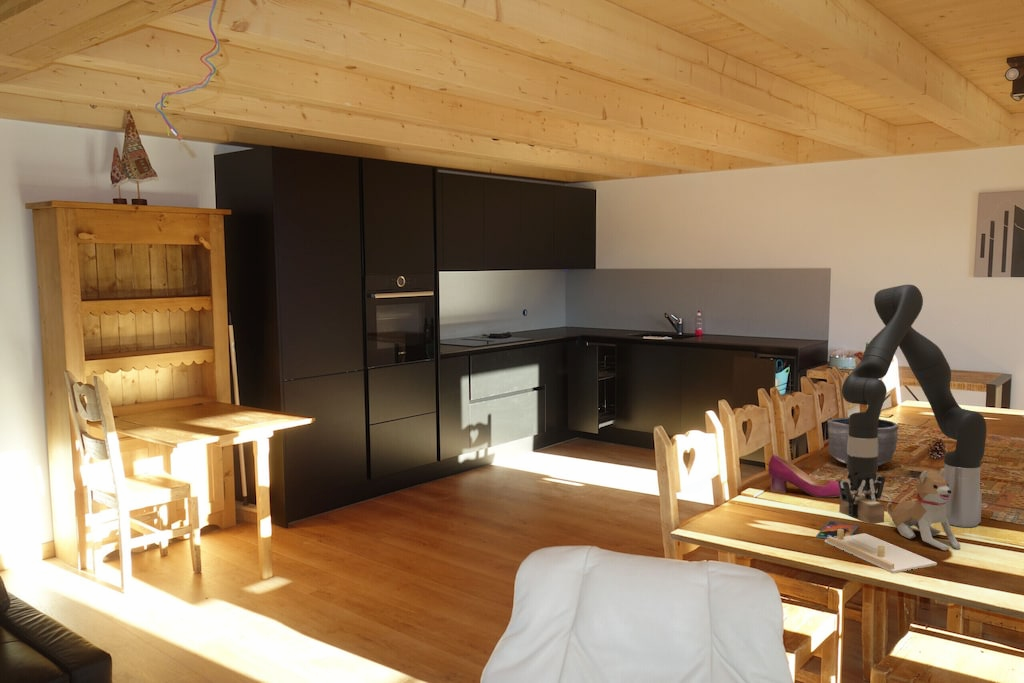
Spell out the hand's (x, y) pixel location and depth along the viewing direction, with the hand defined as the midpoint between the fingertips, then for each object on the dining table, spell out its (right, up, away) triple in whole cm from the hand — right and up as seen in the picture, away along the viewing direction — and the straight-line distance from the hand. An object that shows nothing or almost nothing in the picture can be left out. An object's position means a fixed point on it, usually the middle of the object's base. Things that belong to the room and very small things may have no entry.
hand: (861, 515), depth 213 cm
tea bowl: (+38, 0, +88) cm, 95 cm away
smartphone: (0, -8, +15) cm, 17 cm away
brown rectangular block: (0, 0, 0) cm, 0 cm away
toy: (+20, -8, +10) cm, 24 cm away
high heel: (+6, -4, +53) cm, 53 cm away
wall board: (+4, -9, -2) cm, 10 cm away
